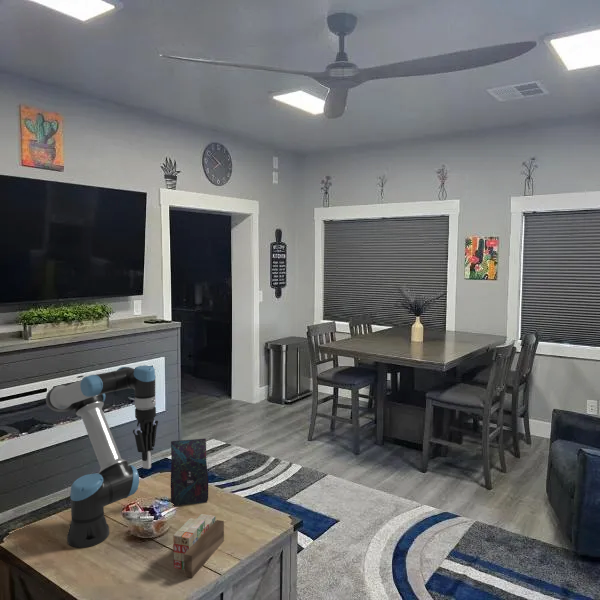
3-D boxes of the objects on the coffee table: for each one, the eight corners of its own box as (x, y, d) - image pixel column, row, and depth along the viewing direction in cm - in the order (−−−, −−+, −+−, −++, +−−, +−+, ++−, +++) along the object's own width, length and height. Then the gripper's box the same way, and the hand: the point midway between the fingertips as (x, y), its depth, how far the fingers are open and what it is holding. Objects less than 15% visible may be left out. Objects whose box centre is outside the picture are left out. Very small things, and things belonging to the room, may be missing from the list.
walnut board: (184, 576, 175) (184, 554, 174) (217, 539, 198) (216, 519, 197) (192, 578, 174) (191, 555, 173) (224, 540, 197) (223, 521, 196)
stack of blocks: (201, 536, 200) (201, 506, 199) (216, 538, 199) (216, 508, 198) (173, 567, 180) (172, 534, 179) (189, 571, 178) (188, 537, 177)
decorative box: (171, 498, 231) (169, 438, 229) (207, 494, 235) (206, 435, 233) (170, 506, 223) (169, 444, 221) (208, 502, 227) (208, 441, 225)
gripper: (143, 413, 184) (144, 476, 186) (163, 403, 197) (165, 462, 199) (126, 411, 187) (127, 473, 189) (147, 401, 199) (148, 459, 201)
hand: (146, 467), depth 194 cm, fingers closed
